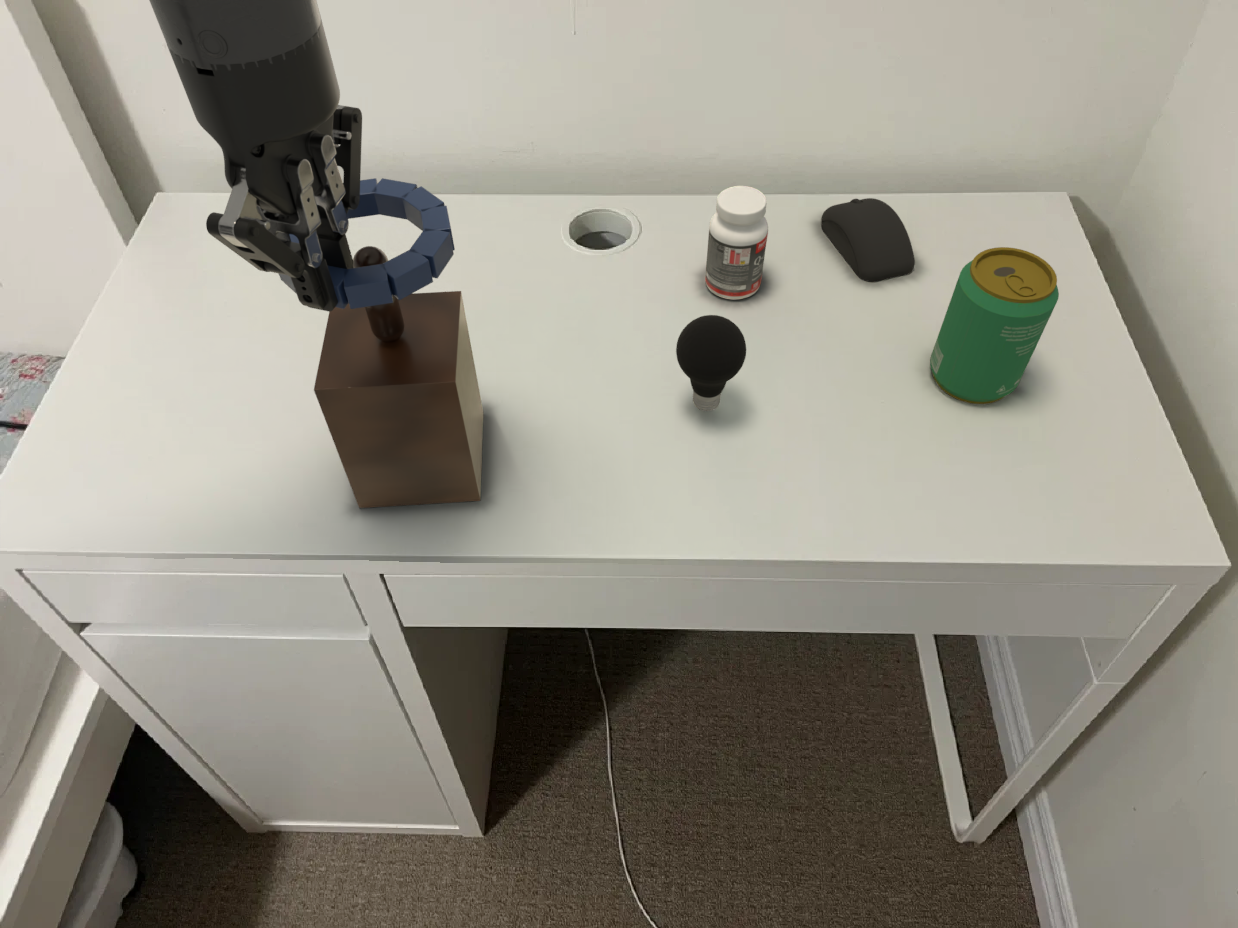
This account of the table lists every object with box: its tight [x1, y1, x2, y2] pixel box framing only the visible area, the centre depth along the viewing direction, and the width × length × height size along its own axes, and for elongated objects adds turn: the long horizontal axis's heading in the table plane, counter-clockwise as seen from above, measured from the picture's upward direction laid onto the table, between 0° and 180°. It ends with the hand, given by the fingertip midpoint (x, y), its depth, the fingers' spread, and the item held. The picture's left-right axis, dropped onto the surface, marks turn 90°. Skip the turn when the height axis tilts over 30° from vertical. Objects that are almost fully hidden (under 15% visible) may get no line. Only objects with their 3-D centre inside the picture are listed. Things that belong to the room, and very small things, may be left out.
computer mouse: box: [820, 197, 916, 283], centre depth 95 cm, size 6×11×4 cm, turn 18°
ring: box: [277, 177, 455, 309], centre depth 61 cm, size 12×12×2 cm
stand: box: [313, 245, 484, 509], centre depth 70 cm, size 10×10×22 cm
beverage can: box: [929, 246, 1060, 405], centre depth 79 cm, size 8×8×12 cm
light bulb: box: [675, 314, 747, 412], centre depth 78 cm, size 6×6×10 cm
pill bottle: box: [704, 185, 769, 300], centre depth 89 cm, size 6×6×10 cm
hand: (330, 293), depth 58 cm, fingers closed on ring, 2 cm apart
